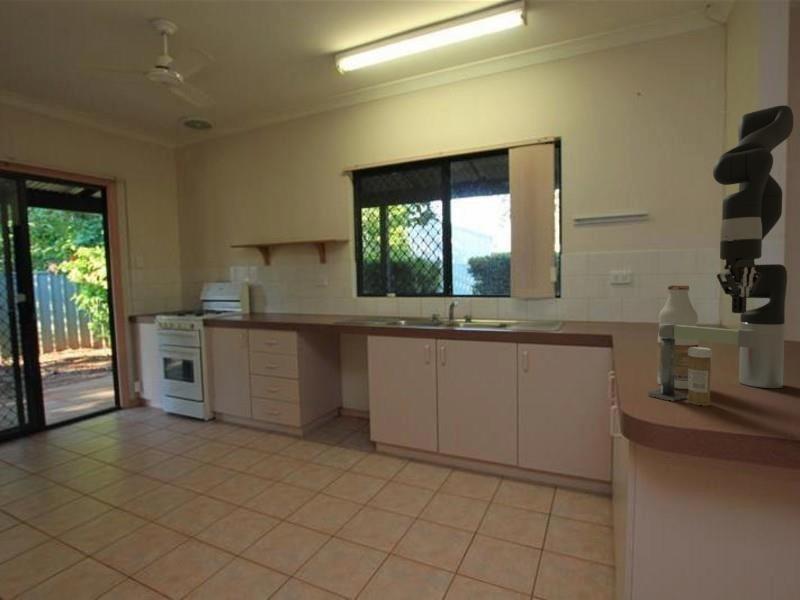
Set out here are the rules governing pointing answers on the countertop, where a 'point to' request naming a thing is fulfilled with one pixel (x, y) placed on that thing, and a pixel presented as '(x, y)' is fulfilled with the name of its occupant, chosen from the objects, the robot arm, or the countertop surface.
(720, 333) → the swing bar
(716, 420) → the countertop surface
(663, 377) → the post
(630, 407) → the countertop surface
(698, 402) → the sprinkles bottle
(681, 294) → the fruit juice
